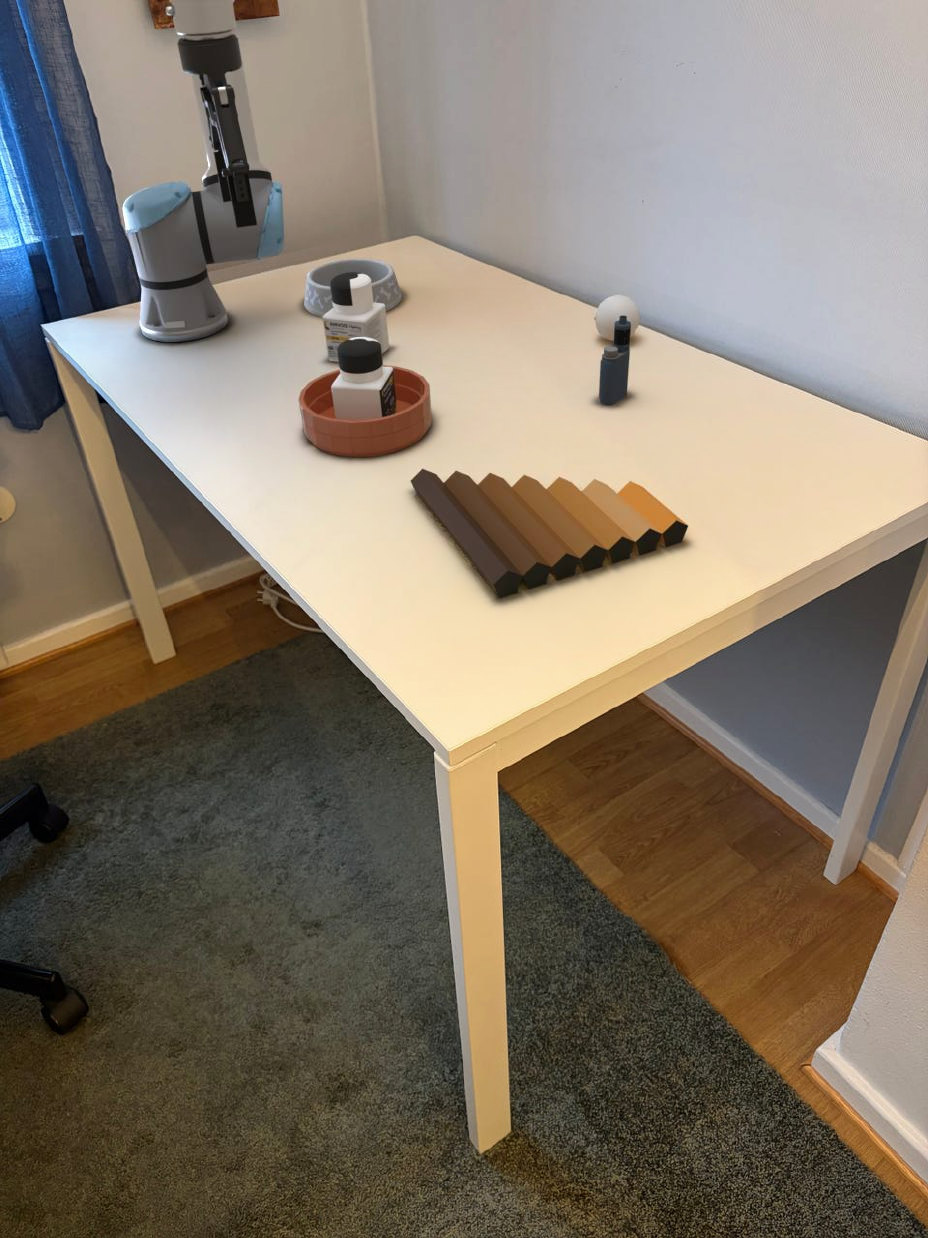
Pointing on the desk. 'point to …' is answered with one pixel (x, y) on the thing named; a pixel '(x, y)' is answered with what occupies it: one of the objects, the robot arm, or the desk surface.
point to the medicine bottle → (363, 382)
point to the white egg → (616, 315)
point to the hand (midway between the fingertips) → (239, 212)
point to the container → (353, 313)
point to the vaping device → (615, 364)
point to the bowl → (370, 433)
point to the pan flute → (545, 525)
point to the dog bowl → (321, 276)
